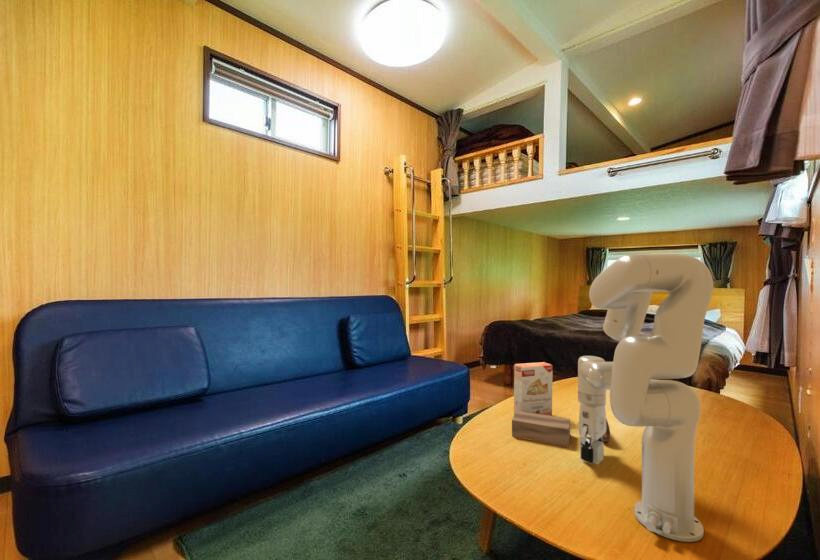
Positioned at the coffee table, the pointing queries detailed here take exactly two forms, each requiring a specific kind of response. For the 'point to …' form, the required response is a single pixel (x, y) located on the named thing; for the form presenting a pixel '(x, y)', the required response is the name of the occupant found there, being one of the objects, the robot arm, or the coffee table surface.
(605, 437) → the tin
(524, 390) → the cracker box
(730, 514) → the coffee table surface
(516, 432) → the walnut block
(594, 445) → the white cube
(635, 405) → the robot arm
